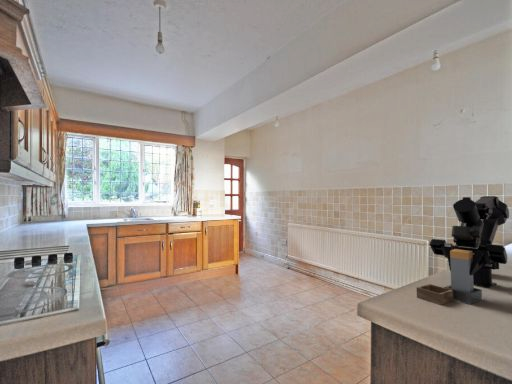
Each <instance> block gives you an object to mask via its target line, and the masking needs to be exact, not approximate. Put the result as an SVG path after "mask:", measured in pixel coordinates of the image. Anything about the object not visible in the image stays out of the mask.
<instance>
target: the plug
mask: <svg viewBox="0 0 512 384" xmlns="http://www.w3.org/2000/svg"><path fill="white" fill-rule="evenodd" d="M472 262H473V253H472V251H469V250H460V249H453V250H451V251H450V263H451V271H450V285H451V289H455V290H459V291H463V292H467V293H470V292H473V291H474V288H475V287H474V282H473V275H470V268H471V265H472Z"/></svg>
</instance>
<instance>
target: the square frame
mask: <svg viewBox="0 0 512 384" xmlns="http://www.w3.org/2000/svg"><path fill="white" fill-rule="evenodd" d="M416 298H418V299H422V300H424V301H426V302H427V301H428V302H430V303H434V304H437V305H440V306H442V305H444V304H445V305H446V304H447V303H450V302H453V301H455V300H454V295H453V290H450V289H447V288H444V286H439V285H435V284H432V283H428V284H425V285H421V286H417V287H416Z"/></svg>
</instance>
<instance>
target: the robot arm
mask: <svg viewBox="0 0 512 384" xmlns="http://www.w3.org/2000/svg"><path fill="white" fill-rule="evenodd" d="M452 207H453V210H454V213H455V214H456V215H455V216H456V217H457V220H458V222H459V223H460V225H452V227H451V237H453V239H452V242H453V243H454V244H453V243H450V242H447V241H446V240H445V239H438V238H432V239H430V241H429V246H430V248H431V250H432V253H433V254H434V255H435V256H436V255H437V256H444V258H445V259H447V262H448V267H449V271H450V272H451V263H450V251H451V250H453V249H460V250H469V251H472V253H473V262H472V265H471V268H470V275H473V282H474V285H475V286H479V287H484V288H489V289H490V288H492V287H494V286H497V285H498V284H497V283H496V282H493V272H492V271H493V270H494V271H495V270H500V264H501V265H502V264H503V265H506V264H507V263H508V254H507V250H506V247H505V246H504V245H501V244H500V245H498V244H493V242H494V239H495V236H496V233H497V231H498V227H499V226H501V225H505V223H506V222H507V219H509V218H510V211H509V208H508V204H506V203H505V202H503V201H501V200H500V199H499V196H496V195H495V196H494V195H490V196H480V198H479V199H477V200H476V201H474V200H472V199H471V196H470V197H469V196H464V197H462V199H459V200H457V201H456V202H455V203H453V205H452Z"/></svg>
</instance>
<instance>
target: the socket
mask: <svg viewBox="0 0 512 384" xmlns="http://www.w3.org/2000/svg"><path fill="white" fill-rule="evenodd" d="M443 288H447V289H450V290H453V295H454V300H453V301H457V302H461V303H464V304H467V305H473V304H475V303H477V302H480V301H482V300H483V292H482V291H483V290H482V289H479V288H476V287H474V291H473V292H470V293H467V292H463V291H459V290H455V289H451V284H450V285H447V286H443Z"/></svg>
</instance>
